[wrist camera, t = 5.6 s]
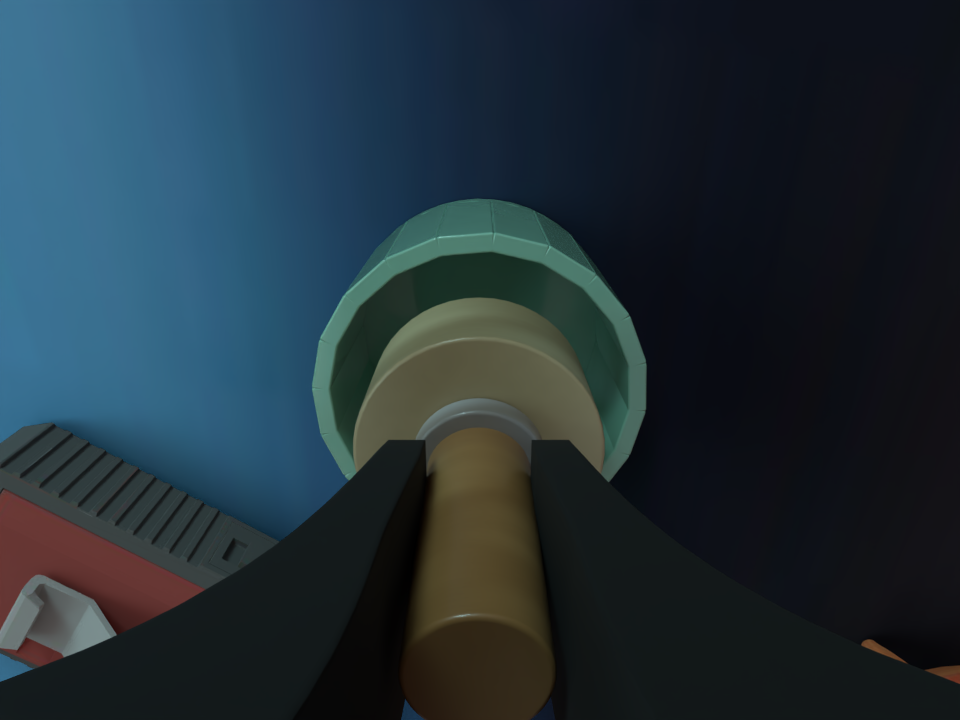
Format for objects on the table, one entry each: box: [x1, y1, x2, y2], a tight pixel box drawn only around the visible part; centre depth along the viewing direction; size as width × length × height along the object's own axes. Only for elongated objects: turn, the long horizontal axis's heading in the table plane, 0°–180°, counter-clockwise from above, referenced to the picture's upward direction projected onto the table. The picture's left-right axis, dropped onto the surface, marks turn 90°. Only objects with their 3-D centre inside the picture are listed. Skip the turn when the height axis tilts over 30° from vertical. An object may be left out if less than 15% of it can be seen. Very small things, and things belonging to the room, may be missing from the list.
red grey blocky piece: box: [0, 423, 279, 668], centre depth 21 cm, size 9×4×20 cm
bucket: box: [312, 199, 647, 482], centre depth 17 cm, size 7×7×5 cm
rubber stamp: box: [353, 298, 605, 720], centre depth 11 cm, size 5×5×8 cm
